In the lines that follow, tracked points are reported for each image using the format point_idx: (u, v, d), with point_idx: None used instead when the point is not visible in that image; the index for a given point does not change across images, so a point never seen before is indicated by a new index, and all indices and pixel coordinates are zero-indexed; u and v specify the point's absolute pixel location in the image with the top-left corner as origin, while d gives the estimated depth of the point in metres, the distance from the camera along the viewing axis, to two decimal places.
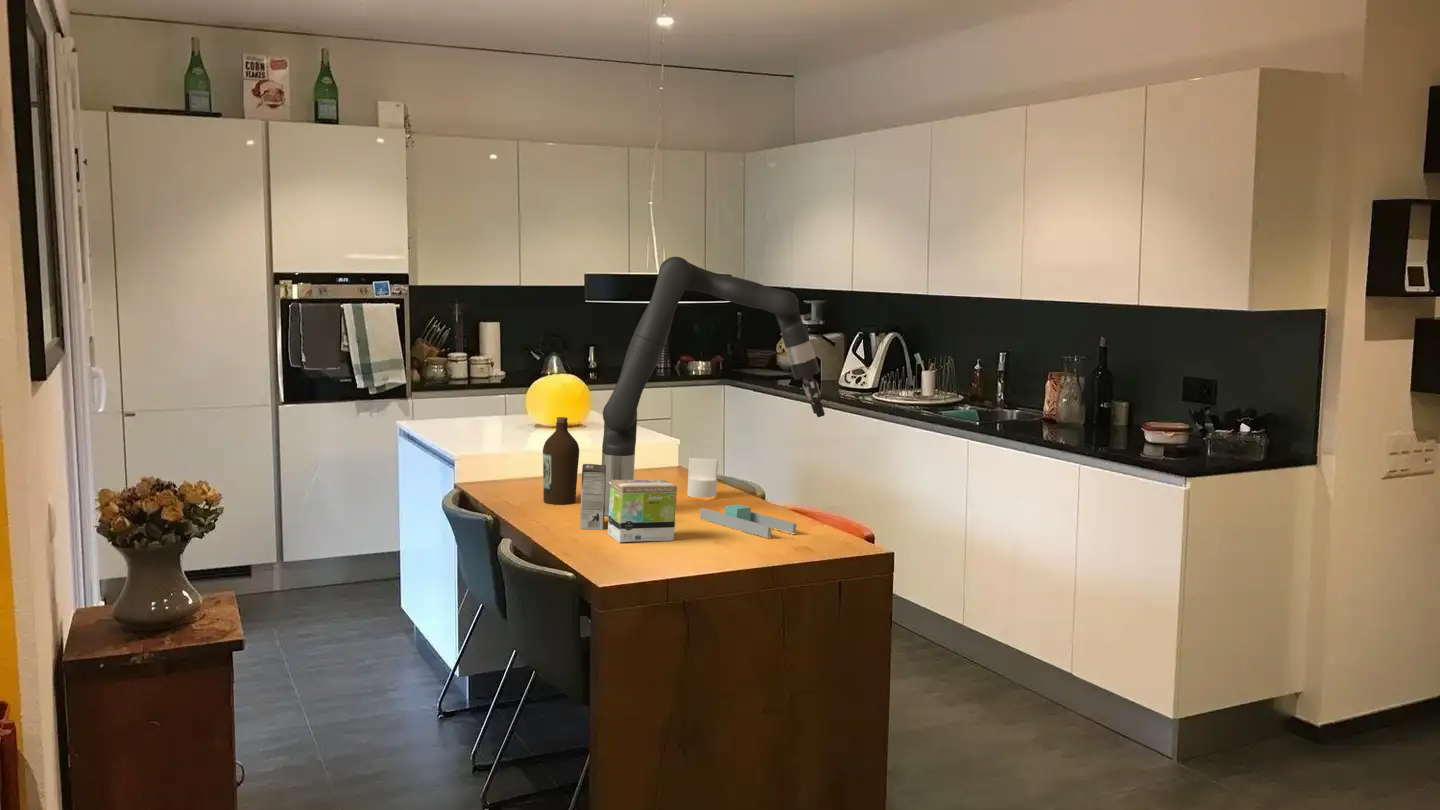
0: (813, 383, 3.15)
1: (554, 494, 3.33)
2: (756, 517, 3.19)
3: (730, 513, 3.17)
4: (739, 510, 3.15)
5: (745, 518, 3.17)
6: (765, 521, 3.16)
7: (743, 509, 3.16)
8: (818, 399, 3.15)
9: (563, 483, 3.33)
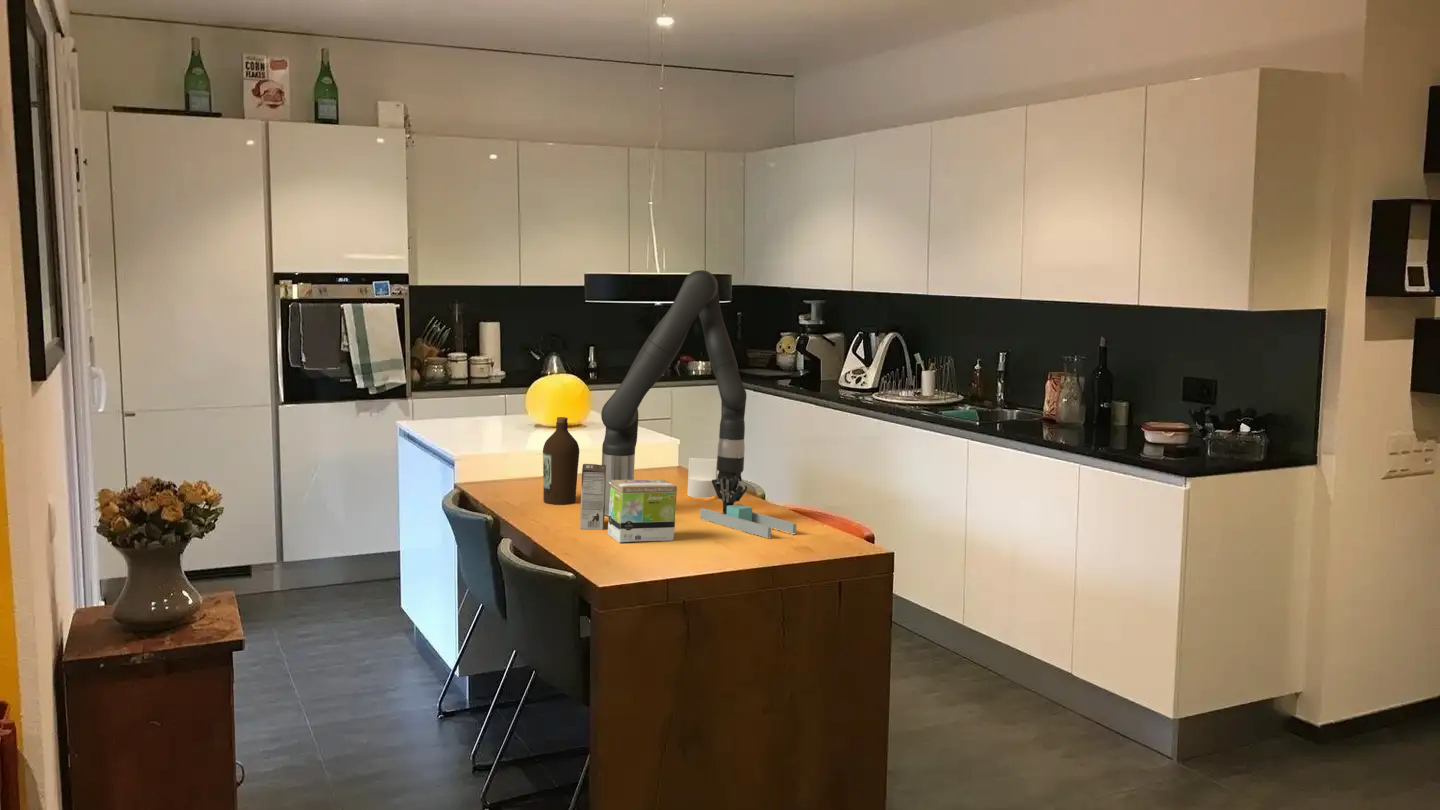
0: (744, 489, 3.17)
1: (554, 494, 3.33)
2: (756, 517, 3.19)
3: (731, 513, 3.16)
4: (741, 510, 3.15)
5: (746, 518, 3.17)
6: (765, 521, 3.16)
7: (745, 509, 3.16)
8: (736, 500, 3.19)
9: (563, 483, 3.33)
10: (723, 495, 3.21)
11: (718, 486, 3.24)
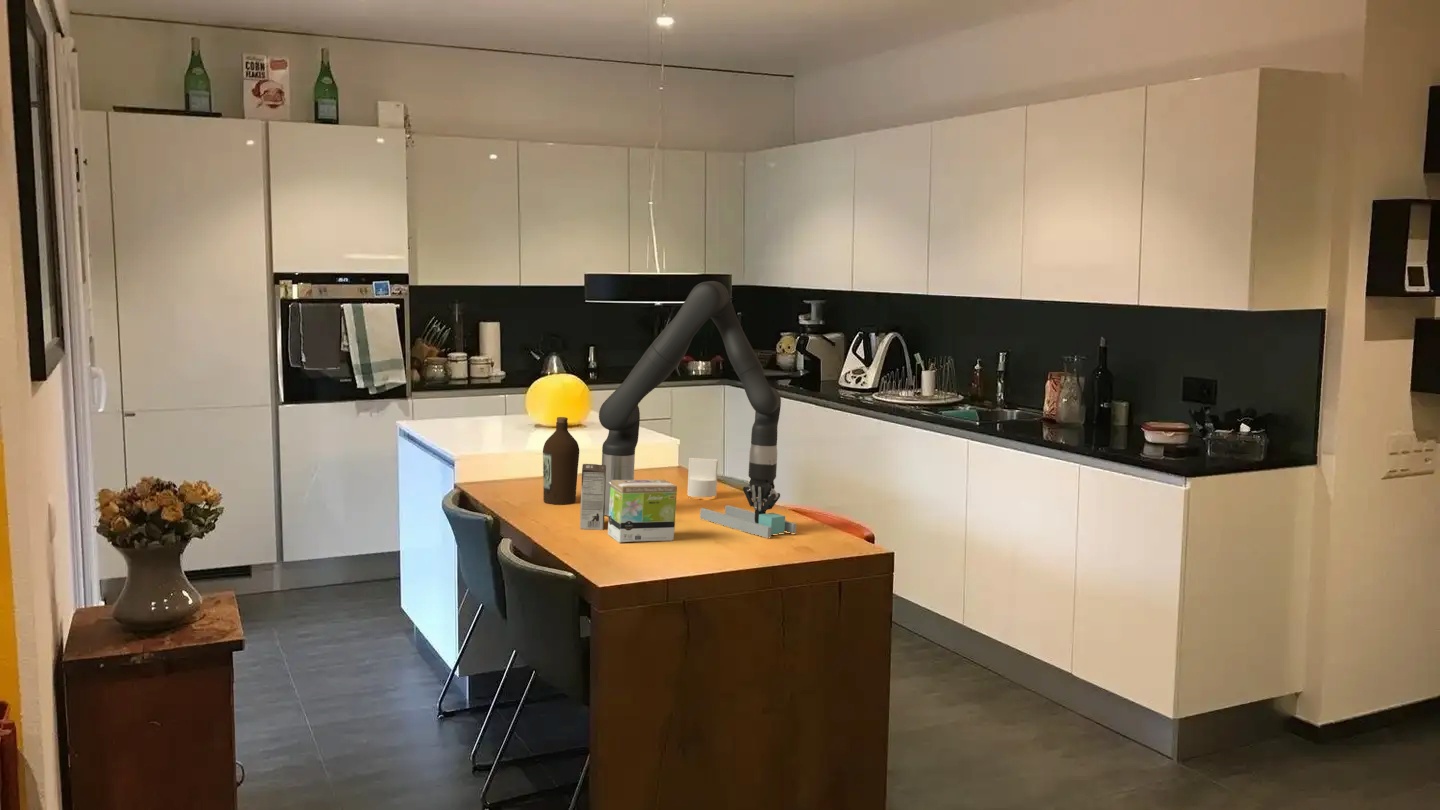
0: (777, 497, 3.07)
1: (554, 494, 3.33)
2: None
3: (764, 522, 3.07)
4: (773, 519, 3.05)
5: (779, 527, 3.07)
6: None
7: (777, 518, 3.06)
8: (769, 508, 3.10)
9: (563, 483, 3.33)
10: (755, 503, 3.11)
11: (750, 493, 3.14)
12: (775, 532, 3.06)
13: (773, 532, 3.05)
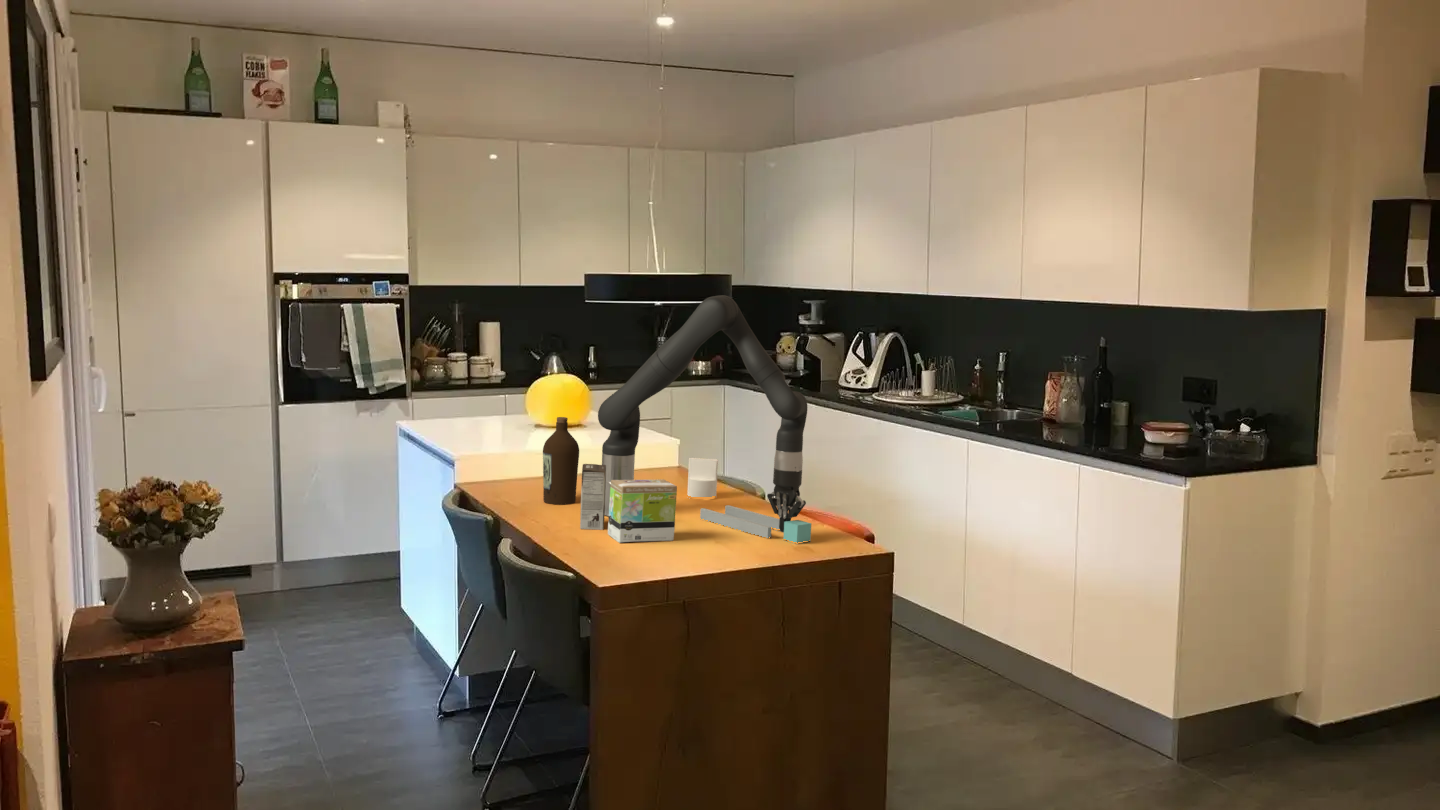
0: (803, 504, 2.99)
1: (554, 494, 3.33)
2: (756, 517, 3.19)
3: (790, 529, 2.99)
4: (799, 526, 2.97)
5: (805, 535, 2.99)
6: (765, 521, 3.16)
7: (803, 525, 2.98)
8: (794, 516, 3.02)
9: (563, 483, 3.33)
10: (780, 510, 3.04)
11: (774, 501, 3.06)
12: (801, 540, 2.98)
13: (799, 540, 2.98)
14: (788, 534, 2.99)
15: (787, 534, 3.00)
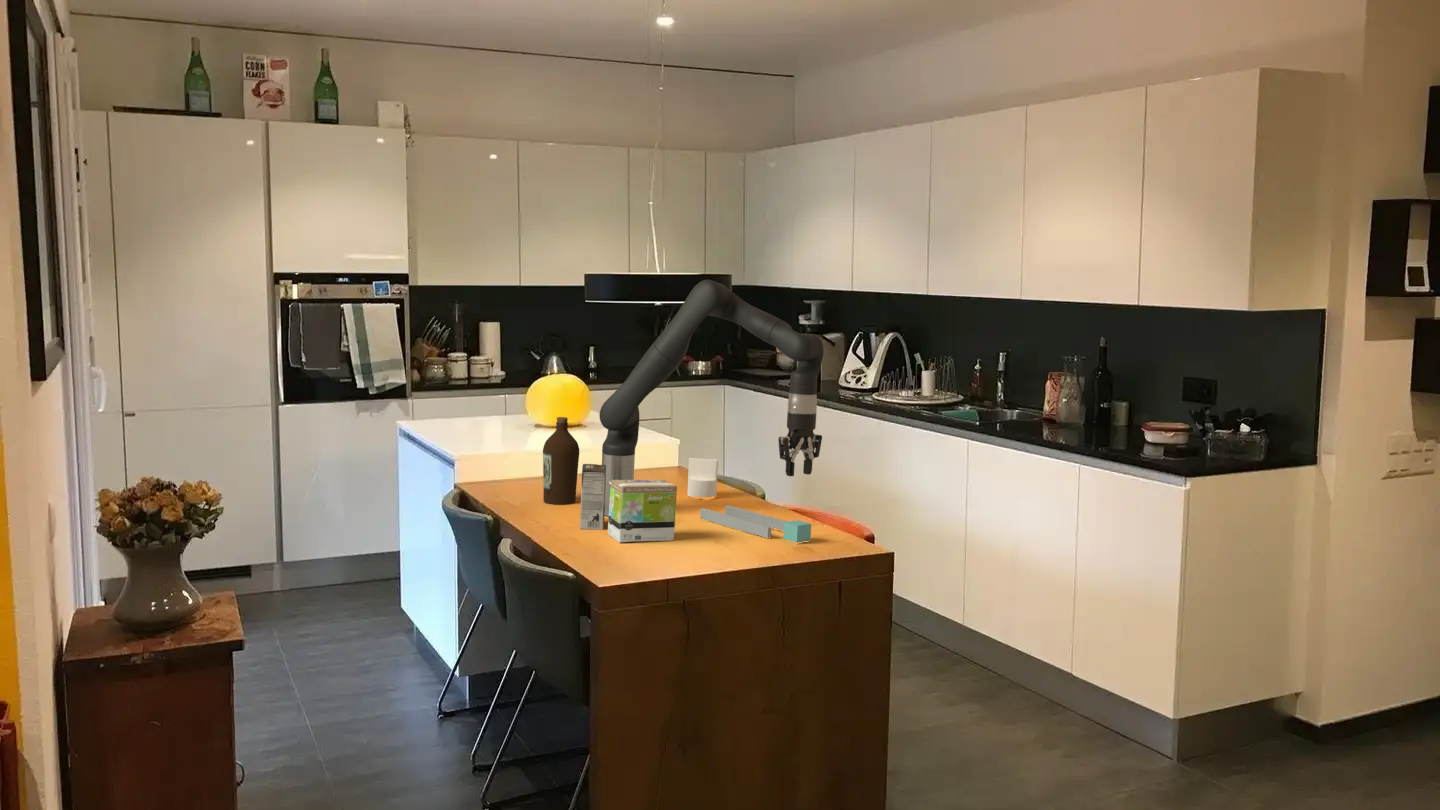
0: (782, 440, 2.94)
1: (554, 494, 3.33)
2: (756, 517, 3.19)
3: (789, 530, 2.99)
4: (799, 527, 2.97)
5: (805, 535, 2.99)
6: (765, 521, 3.16)
7: (803, 526, 2.98)
8: (784, 458, 2.95)
9: (563, 483, 3.33)
10: None
11: (813, 443, 3.03)
12: (801, 540, 2.98)
13: (799, 540, 2.98)
14: (788, 534, 2.99)
15: (787, 534, 3.00)
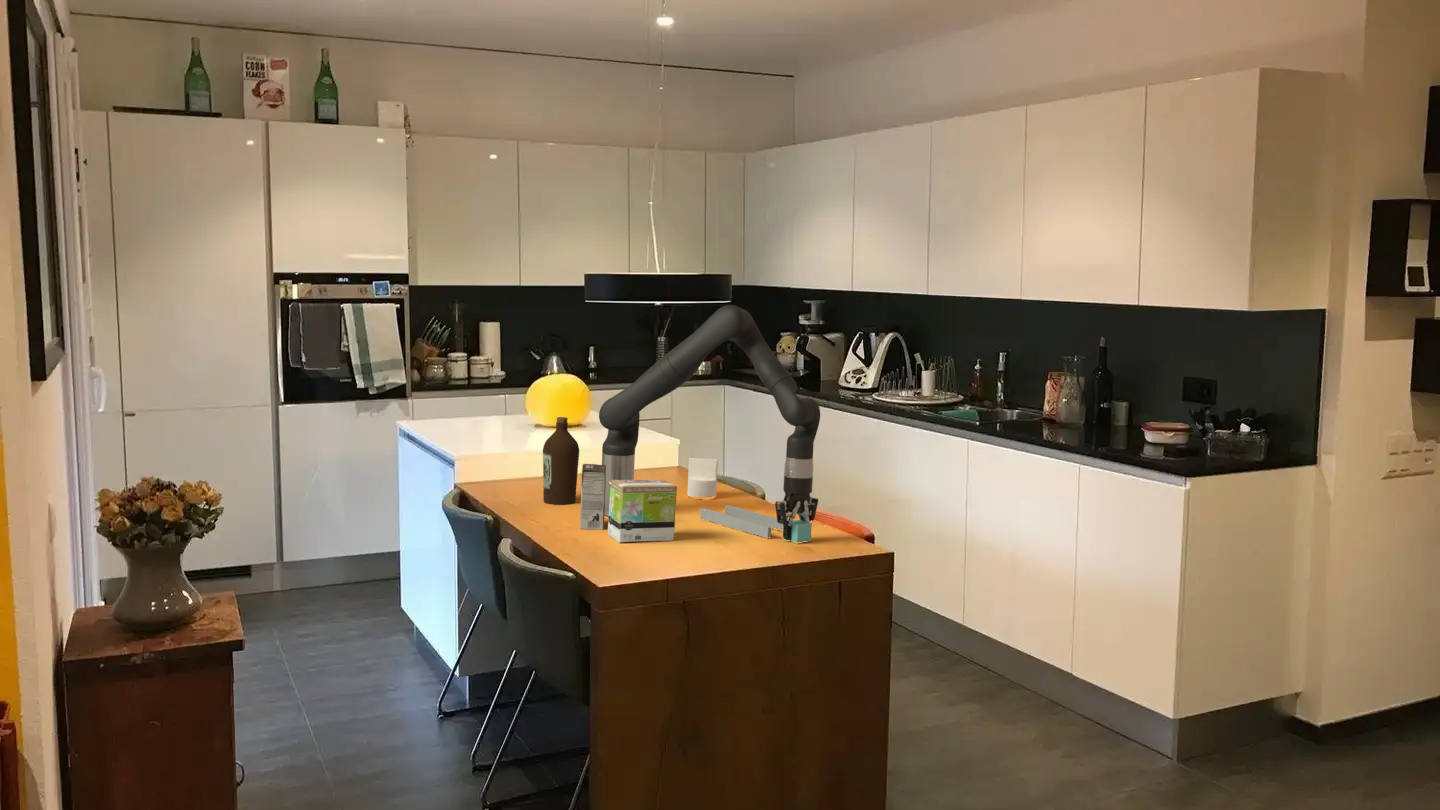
0: (779, 505, 2.96)
1: (554, 494, 3.33)
2: (756, 517, 3.19)
3: None
4: (800, 526, 2.97)
5: (806, 535, 2.99)
6: (765, 521, 3.16)
7: (804, 525, 2.98)
8: (781, 522, 2.97)
9: (563, 483, 3.33)
10: None
11: (809, 506, 3.04)
12: (801, 539, 2.98)
13: (799, 540, 2.98)
14: None
15: None
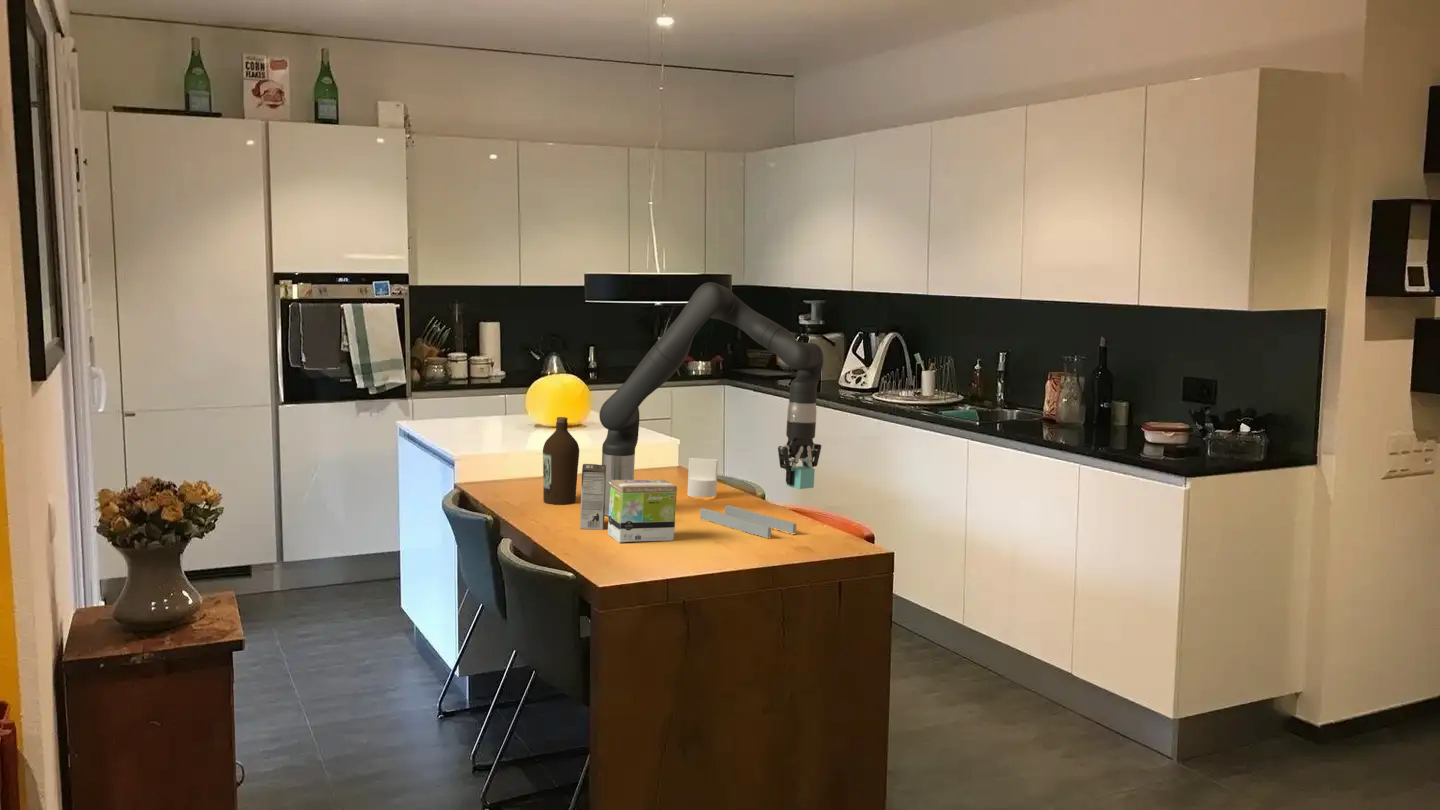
0: (782, 450, 2.94)
1: (554, 494, 3.33)
2: (756, 517, 3.19)
3: None
4: (803, 471, 2.96)
5: (809, 480, 2.98)
6: (765, 521, 3.16)
7: (807, 470, 2.97)
8: (784, 467, 2.95)
9: (563, 483, 3.33)
10: None
11: (812, 452, 3.03)
12: (804, 485, 2.97)
13: (802, 485, 2.96)
14: None
15: None
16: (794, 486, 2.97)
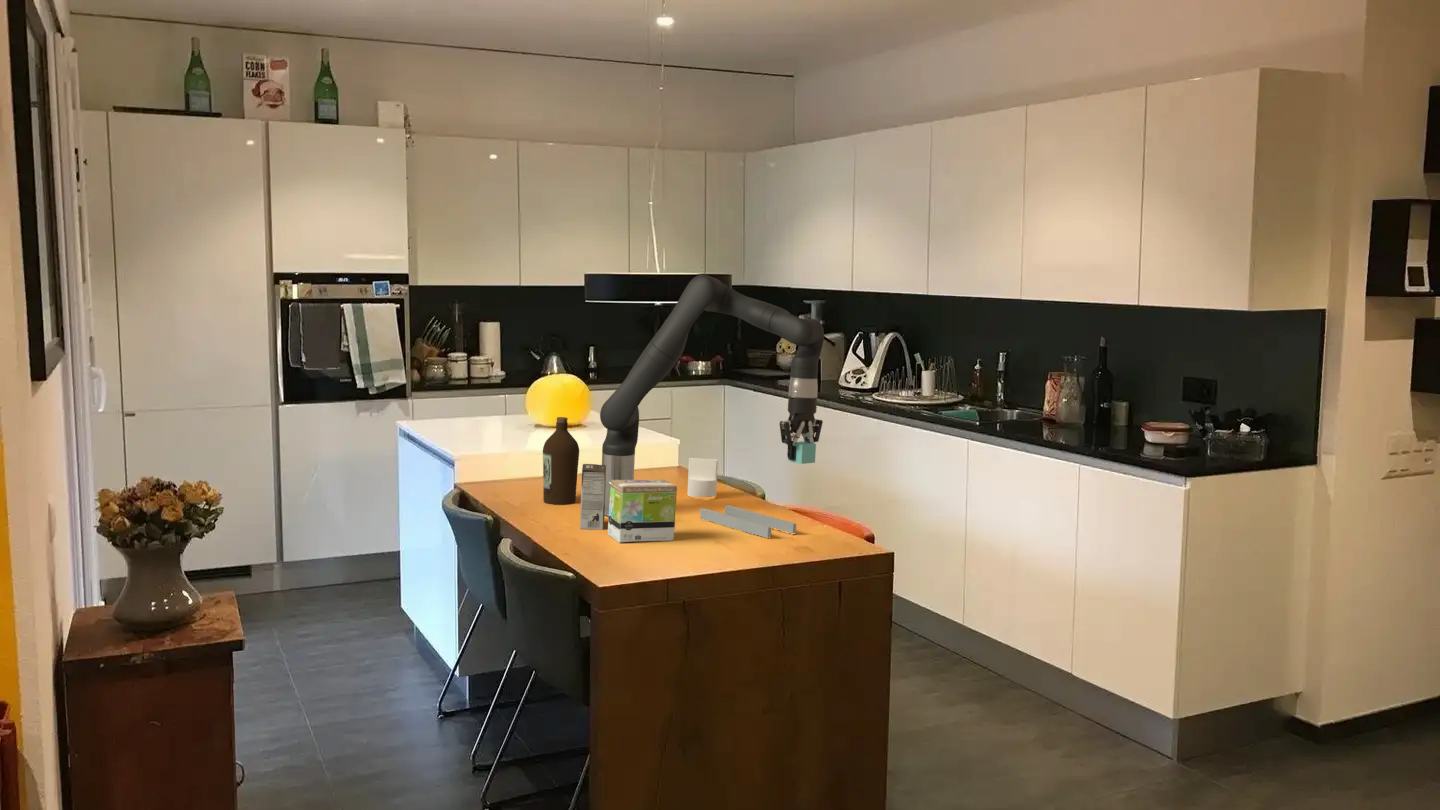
0: (784, 425, 2.96)
1: (554, 494, 3.33)
2: (756, 517, 3.19)
3: None
4: (804, 446, 2.98)
5: (810, 455, 3.00)
6: (765, 521, 3.16)
7: (808, 445, 2.99)
8: (786, 442, 2.98)
9: (563, 483, 3.33)
10: None
11: (813, 428, 3.05)
12: (805, 459, 2.99)
13: (804, 460, 2.98)
14: None
15: None
16: (796, 461, 2.99)
